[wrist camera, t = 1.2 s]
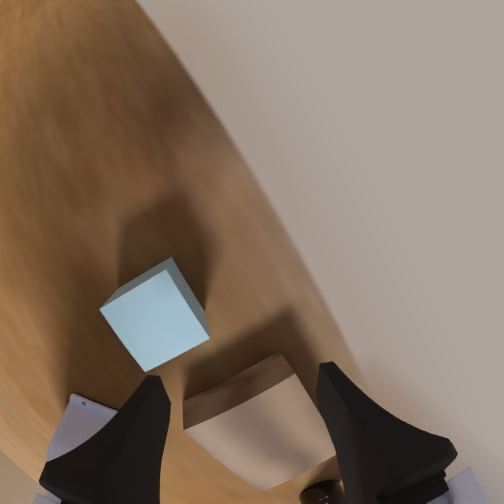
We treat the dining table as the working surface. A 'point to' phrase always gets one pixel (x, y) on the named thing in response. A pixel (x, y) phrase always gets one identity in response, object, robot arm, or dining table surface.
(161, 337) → the blue cube
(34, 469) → the dining table surface
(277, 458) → the walnut block
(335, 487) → the supplement bottle
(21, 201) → the dining table surface
